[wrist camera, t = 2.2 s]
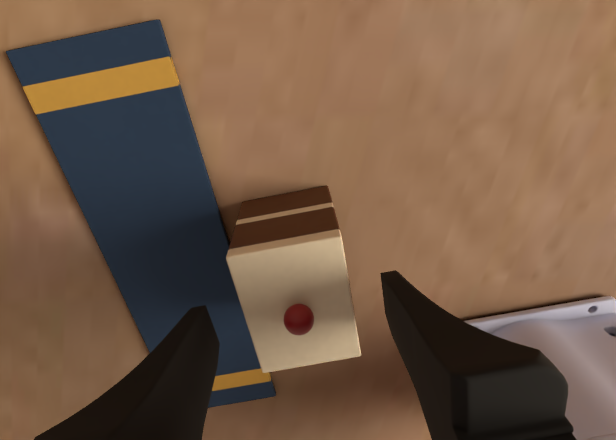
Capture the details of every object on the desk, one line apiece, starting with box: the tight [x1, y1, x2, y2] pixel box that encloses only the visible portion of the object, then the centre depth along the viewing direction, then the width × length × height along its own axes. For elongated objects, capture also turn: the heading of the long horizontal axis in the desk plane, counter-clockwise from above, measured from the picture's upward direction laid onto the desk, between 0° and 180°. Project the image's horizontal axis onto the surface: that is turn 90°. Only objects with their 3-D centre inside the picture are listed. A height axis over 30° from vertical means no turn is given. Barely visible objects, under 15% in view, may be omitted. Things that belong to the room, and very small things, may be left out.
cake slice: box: [226, 186, 361, 373], centre depth 17 cm, size 4×6×7 cm
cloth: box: [6, 20, 276, 408], centre depth 20 cm, size 6×22×1 cm, turn 10°
